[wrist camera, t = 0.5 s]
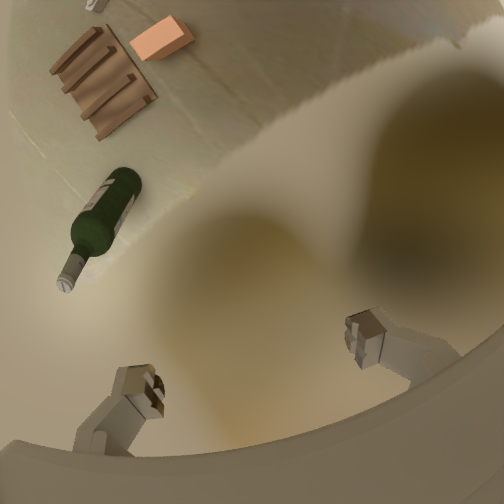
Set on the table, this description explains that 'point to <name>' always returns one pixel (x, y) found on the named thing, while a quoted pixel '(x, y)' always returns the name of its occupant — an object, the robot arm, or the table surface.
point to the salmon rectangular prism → (162, 39)
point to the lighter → (96, 5)
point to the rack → (103, 80)
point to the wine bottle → (99, 223)
